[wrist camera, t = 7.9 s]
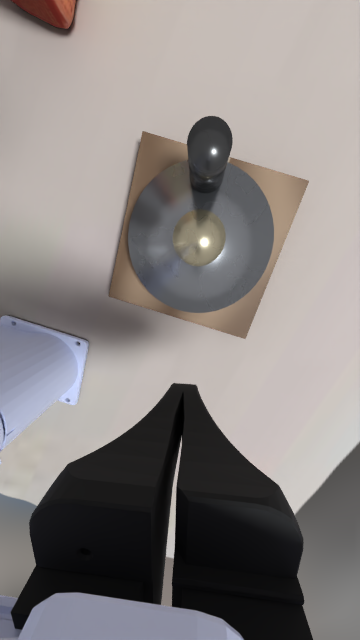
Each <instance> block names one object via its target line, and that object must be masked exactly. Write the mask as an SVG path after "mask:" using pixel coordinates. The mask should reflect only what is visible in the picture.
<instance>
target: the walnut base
mask: <svg viewBox="0 0 360 640" xmlns="http://www.w3.org/2000/svg"><path fill="white" fill-rule="evenodd" d="M185 160H188V150H187V144H184V143H181V142H177V141H174V140H171V139H167V138H164V137H161V136H157V135H154V134H150V133H147V132H144V131H143V132H142V137H141V142H140V147H139V152H138V156H137V161H136V166H135V171H134V176H133V181H132V185H131V190H130V195H129V200H128V205H127V210H126V214H125V219H124V224H123V229H122V234H121V239H120V243H119V248H118V253H117V258H116V263H115V268H114V272H113V277H112V282H111V287H110V292H109V297H112V298H116V299H119V300H122V301H125V302H128V303H132V304H135V305H138V306H141V307H144V308H148V309H151V310H154V311H157V312H160V313H164V314H167V315H170V316H173V317H176V318H180V319H183V320H186V321H189V322H193V323H196V324H199V325H202V326H205V327H209V328H212V329H215V330H218V331H221V332H225V333H228V334H231V335H234V336H237V337H241V338H244V339H245V338H246V336H247V333H248V331H249V328H250V326H251V323H252V321H253V319H254V316H255V314H256V311H257V309H258V306H259V304H260V301H261V299H262V296H263V294H264V291H265V289H266V286H267V284H268V281H269V279H270V277H271V274H272V272H273V269H274V267H275V264H276V262H277V259H278V257H279V254H280V252H281V249H282V247H283V244H284V242H285V239H286V237H287V235H288V232H289V230H290V227H291V225H292V222H293V220H294V217H295V215H296V212H297V210H298V207H299V205H300V202H301V200H302V197H303V195H304V192H305V190H306V188H307V185H308V183H309V181H307V180H304V179H301V178H297V177H294V176H291V175H287V174H284V173H281V172H277V171H274V170H271V169H267V168H264V167H261V166H257V165H254V164H251V163H247V162H244V161H241V160H237V159H234V158H231V157H229V159H228V163H231V164H233V165H235V166H237V167H239V168H240V169H241V170H243V171H244V172H246V173H247V174H248V175H249V176H250V177H251V178H252V179H253V180H254V181H255V182H256V183H257V184H258V186H259V187H260V188H261V190H262V191H263V193H264V195H265V197H266V199H267V201H268V203H269V206H270V209H271V213H272V217H273V224H274V242H273V249H272V253H271V257H270V260H269V262H268V265H267V267H266V269H265V271H264V273H263V275H262V277H261V278H260V280H259V281H258V282H257V284H256V285H255V286H254V287H253V288H252V289H251V291H250V292H249V293H247V294H246V295H245V296H244V297H243V298H241V299H240V300H238V301H237V302H235V303H234V304H232V305H230V306H228V307H226V308H223V309H220V310H217V311H212V312H206V313H190V312H185V311H180V310H177V309H174V308H172V307H170V306H168V305H166V304H164V303H162V302H161V301H159V300H158V299H157V298H155V297H154V296H153V295H152V294H151V293H150V292H149V291H148V290H147V289H146V288H145V286H144V285H143V284H142V282H141V281H140V279H139V278H138V276H137V274H136V272H135V270H134V267H133V265H132V261H131V258H130V253H129V246H128V231H129V223H130V219H131V215H132V212H133V209H134V206H135V204H136V202H137V200H138V198H139V196H140V195H141V193H142V192H143V190H144V189H145V187H146V186H147V185H148V184H149V183H150V182H151V181H152V180H153V179H154V178H155V177H156V176H157V175H158V174H159V173H161V172H162V171H164V170H165V169H167V168H168V167H170V166H172V165H174V164H177V163H179V162H182V161H185Z"/></svg>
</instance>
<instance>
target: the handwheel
mask: <svg viewBox="0 0 360 640" xmlns="http://www.w3.org/2000/svg"><path fill="white" fill-rule="evenodd" d="M231 148H232V133H231V130H230V128H229V126H228V125H227V123H226V122H225V121H224V120H222V119H221V118H219V117H216V116H208V117H204V118H202V119H200V120H199V121H198V122H196V123H195V125H194V126H193V127H192V129H191V131H190V133H189V135H188V140H187V150H188V160H185V161H182V162H179V163H177V164H174V165H172V166H170V167H168V168H167V169H165V170H164V171H162V172H161V173H159V174H158V175H157V176H156V177H155V178H154V179H153V180H152V181H151V182H150V183H149V184H148V185H147V186H146V187H145V189H144V190H143V192H142V193H141V195H140V196H139V198H138V200H137V202H136V204H135V206H134V209H133V212H132V215H131V219H130V223H129V231H128V246H129V253H130V258H131V261H132V265H133V267H134V270H135V272H136V274H137V276H138V278H139V279H140V281H141V282H142V284H143V285H144V286H145V288H146V289H147V290H148V291H149V292H150V293H151V294H152V295H153V296H154V297H155V298H157V299H158V300H159V301H161V302H162V303H164V304H166V305H168V306H170V307H172V308H174V309H177V310H180V311H185V312H190V313H206V312H212V311H217V310H220V309H223V308H226V307H228V306H230V305H232V304H234V303H235V302H237V301H238V300H240V299H241V298H243V297H244V296H245V295H246V294H247V293H249V292H250V291H251V289H252V288H253V287H254V286H255V285H256V284H257V282H258V281H259V280H260V278H261V277H262V275H263V273H264V271H265V269H266V267H267V265H268V262H269V260H270V257H271V253H272V249H273V242H274V224H273V217H272V213H271V209H270V206H269V203H268V201H267V199H266V197H265V195H264V193H263V191H262V190H261V188H260V187H259V186H258V184H257V183H256V182H255V181H254V180H253V179H252V178H251V177H250V176H249V175H248V174H247V173H246V172H244V171H243V170H241V169H240V168H239V167H237V166H235V165H233V164H231V163H228V159H229V155H230V151H231Z"/></svg>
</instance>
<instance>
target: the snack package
mask: <svg viewBox="0 0 360 640" xmlns="http://www.w3.org/2000/svg"><path fill="white" fill-rule="evenodd" d="M11 1H12V2H14V3H15V4H16V5H18V6H19V7H20V8H22V9H23V10H25V11H26V12H28V13H29V14H31V15H33V16H35V17H37V18H39V19H41V20H43V21H45V22H47V23H49V24H51V25H53V26H55V27H58V28H66V29H67V28H69V27H70V25H71V23H72V20H73V17H74V9H75V2H76V0H11Z"/></svg>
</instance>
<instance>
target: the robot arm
mask: <svg viewBox="0 0 360 640" xmlns="http://www.w3.org/2000/svg"><path fill="white" fill-rule="evenodd" d="M15 322H16V324H15ZM78 342H80V345H79V344H78ZM88 347H89V343H88V341H86V340H84V339H81V338H78V337H75V336H72V335H68V334H65V333H62V332H59V331H56V330H53V329H49V328H46V327H43V326H40V325H37V324H33V323H30V322H27V321H24V320H21V319H18V318H14V317H11V316H8V315H5V316H2V317H1V319H0V452H1V451H2V450H3V449H4V448H5V447H6V446H7V445H8V444H9V443H10V442H12V441H13V440H14V439H15V438H16V437H17V436H18V435H19V434H20V433H21V432H23V431H24V430H25V429H26V428H27V427H28V426H29V425H30V424H31V423H32V422H34V421H35V420H36V419H37V418H38V417H39V416H40V415H41V414H42V413H43V412H45V411H46V410H47V409H48V408H49V407H50V406H51V405H52V404H53V403H55V402H56V401H57V400H58V401H61V402H64V403H68V404H71V405H75V404H76V403H77V402H78V398H79V393H80V388H81V383H82V378H83V373H84V367H85V362H86V357H87V352H88ZM68 398H69V399H70V400H69V399H68ZM181 436H182V449H181V457H180V465H179V472H178V480H177V490H176V527H175V552H174V565H173V577H172V607H169V606H163V605H161V599H162V588H163V577H164V567H165V557H166V546H167V536H168V526H169V516H170V506H171V496H172V487H173V480H174V474H175V469H176V463H177V458H178V453H179V447H180V442H181ZM0 464H1V460H0ZM29 525H30V537H31V542H32V547H33V552H34V557H35V561H36V567H35V568H34V570H33V572H32V574H31V576H30V578H29V579H28V581H27V583H26V585H25V587H24V588H23V590H22V592H21V594H20V596H19V598H15V597H9V596H3V595H0V640H313V638H312V635H311V632H310V628H309V625H308V622H307V619H306V616H305V613H304V610H303V606H302V605H303V604H304V596H303V593H302V590H301V587H300V584H299V581H298V578H297V573H298V569H299V564H300V560H301V556H302V552H303V537H302V534H301V531H300V528H299V525H298V523H297V520H296V518H295V516H294V513H293V511H292V509H291V507H290V505H289V504H288V502H287V500H286V498H285V496H284V494H283V492H282V490H281V488H280V487H279V485H278V484H276V483H275V482H274V481H273V480H271V479H270V478H269V477H267V476H266V475H265V474H264V473H262V472H261V471H260V470H259V469H257V468H256V467H255V466H254V465H253V464H252V463H250V462H249V461H248V460H247V459H246V458H245V457H244V456H243V455H242V454H241V453H240V452H239V451H238V450H237V449H236V448H235V447H234V446H233V445H232V444H231V443H230V441H229V440H228V439H227V438H226V437H225V435H224V434H223V433H222V432H221V430H220V429H219V428H218V426H217V425H216V423H215V422H214V420H213V419H212V417H211V416H210V414H209V412H208V411H207V409H206V407H205V405H204V403H203V401H202V399H201V397H200V394H199V391H198V388H197V386H196V385H192V384H177V383H173V384H172V385H171V387H170V388H169V390H168V391H167V392H166V394H165V395H164V396H163V398H162V399H161V400H160V401H159V402H158V403H157V405H156V406H155V407H154V408H153V409H152V410H151V411H150V412H149V413H148V414H147V415H146V416H145V417H144V418H143V419H142V420H141V421H139V422H138V423H137V424H136V425H135V426H133V427H132V428H131V429H129V430H128V431H127V432H125V433H124V434H122V435H121V436H120V437H118V438H117V439H115V440H113V441H112V442H110V443H109V444H107V445H105V446H103V447H101V448H100V449H98V450H96V451H94V452H92V453H90V454H88V455H86V456H84V457H82V458H80V459H78V460H76V461H73V462H71V463H69V464H68V465H67V466H66V467H65V469H64V470H63V471H62V472H61V473H60V475H59V476H58V477H57V479H56V480H55V481H54V483H53V484H52V485H51V487H50V488H49V490H48V491H47V493H46V494H45V496H44V497H43V499H42V500H41V502H40V503H39V505H38V506H37V508H36V509H35V510H34V512H33V513H32V516H31V519H30V522H29Z"/></svg>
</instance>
